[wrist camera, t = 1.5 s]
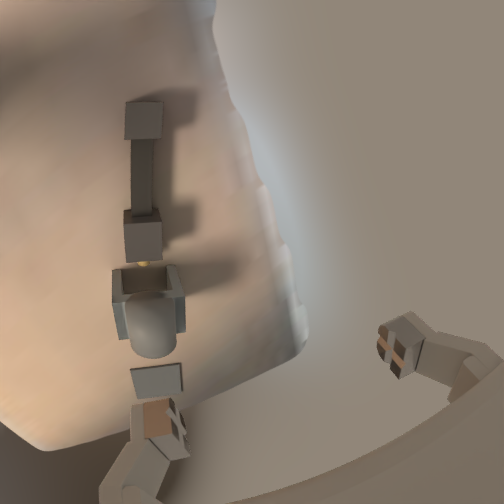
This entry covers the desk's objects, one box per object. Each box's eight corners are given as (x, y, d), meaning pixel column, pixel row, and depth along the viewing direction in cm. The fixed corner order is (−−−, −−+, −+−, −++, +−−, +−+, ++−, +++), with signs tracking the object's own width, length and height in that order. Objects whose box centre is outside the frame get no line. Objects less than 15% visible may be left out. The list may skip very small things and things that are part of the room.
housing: (112, 270, 39) (112, 325, 30) (174, 264, 43) (192, 316, 34) (117, 305, 42) (121, 362, 33) (175, 299, 46) (192, 353, 36)
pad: (130, 369, 49) (130, 370, 49) (178, 363, 52) (179, 364, 52) (137, 397, 53) (137, 399, 53) (181, 391, 56) (181, 393, 56)
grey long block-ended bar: (124, 102, 30) (123, 102, 27) (162, 101, 32) (166, 102, 28) (126, 256, 39) (127, 273, 36) (158, 253, 41) (162, 270, 38)
